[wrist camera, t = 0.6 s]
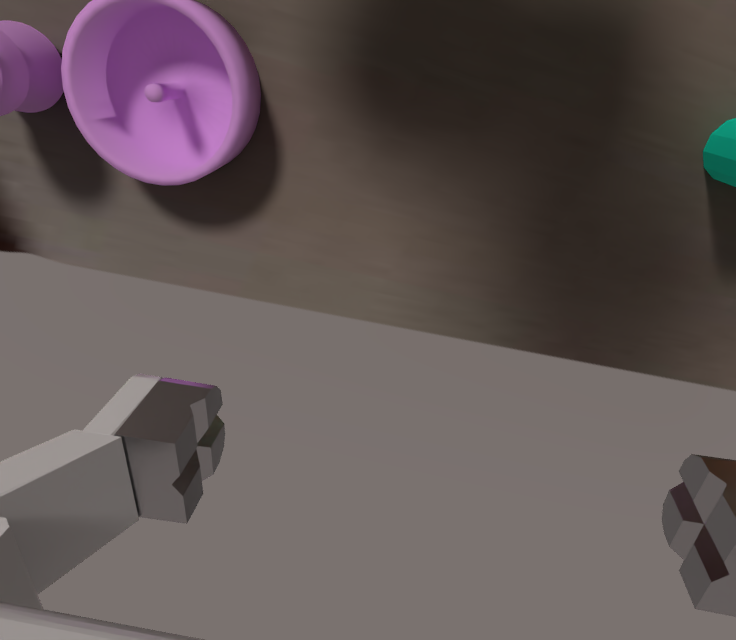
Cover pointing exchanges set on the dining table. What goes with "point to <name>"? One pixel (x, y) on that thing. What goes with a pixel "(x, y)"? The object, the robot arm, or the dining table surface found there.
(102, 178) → the dining table surface
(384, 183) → the dining table surface
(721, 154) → the candle
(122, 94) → the container set
